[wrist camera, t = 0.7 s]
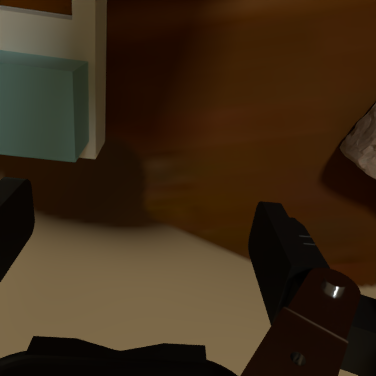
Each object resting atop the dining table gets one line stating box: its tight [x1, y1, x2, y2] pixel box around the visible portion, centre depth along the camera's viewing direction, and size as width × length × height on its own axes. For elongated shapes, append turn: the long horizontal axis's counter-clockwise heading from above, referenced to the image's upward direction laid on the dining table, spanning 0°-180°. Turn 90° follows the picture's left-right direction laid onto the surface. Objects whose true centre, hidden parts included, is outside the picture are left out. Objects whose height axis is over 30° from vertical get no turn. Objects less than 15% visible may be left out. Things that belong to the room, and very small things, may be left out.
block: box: [0, 50, 89, 162], centre depth 23 cm, size 6×6×4 cm
